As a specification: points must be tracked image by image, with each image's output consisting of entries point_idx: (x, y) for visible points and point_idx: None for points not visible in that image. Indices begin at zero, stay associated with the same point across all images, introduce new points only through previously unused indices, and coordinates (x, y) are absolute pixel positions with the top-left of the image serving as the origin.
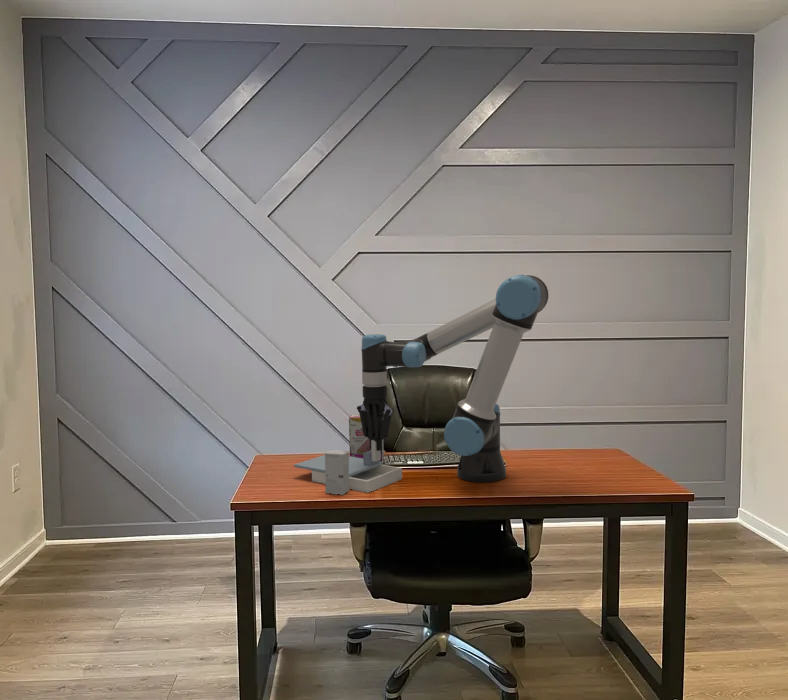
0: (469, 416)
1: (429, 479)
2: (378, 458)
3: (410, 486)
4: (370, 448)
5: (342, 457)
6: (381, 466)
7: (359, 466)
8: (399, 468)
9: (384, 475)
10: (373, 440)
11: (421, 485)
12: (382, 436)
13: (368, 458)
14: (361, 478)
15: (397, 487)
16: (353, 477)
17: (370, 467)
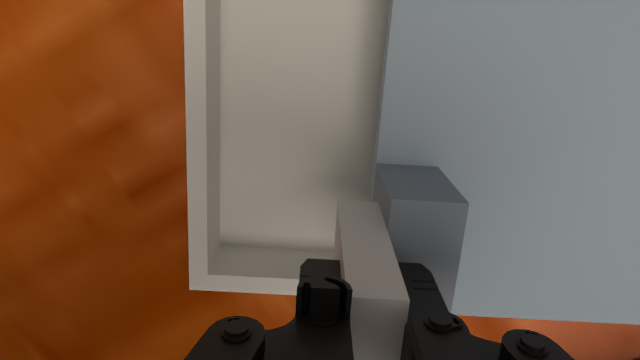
0: None
1: (67, 316)
2: (335, 247)
3: (65, 151)
4: (420, 268)
5: None
6: None
7: (453, 126)
8: (195, 272)
9: (185, 83)
10: (379, 308)
11: (24, 199)
12: (212, 344)
13: (397, 185)
14: None
15: (119, 94)
16: None
17: (374, 169)
